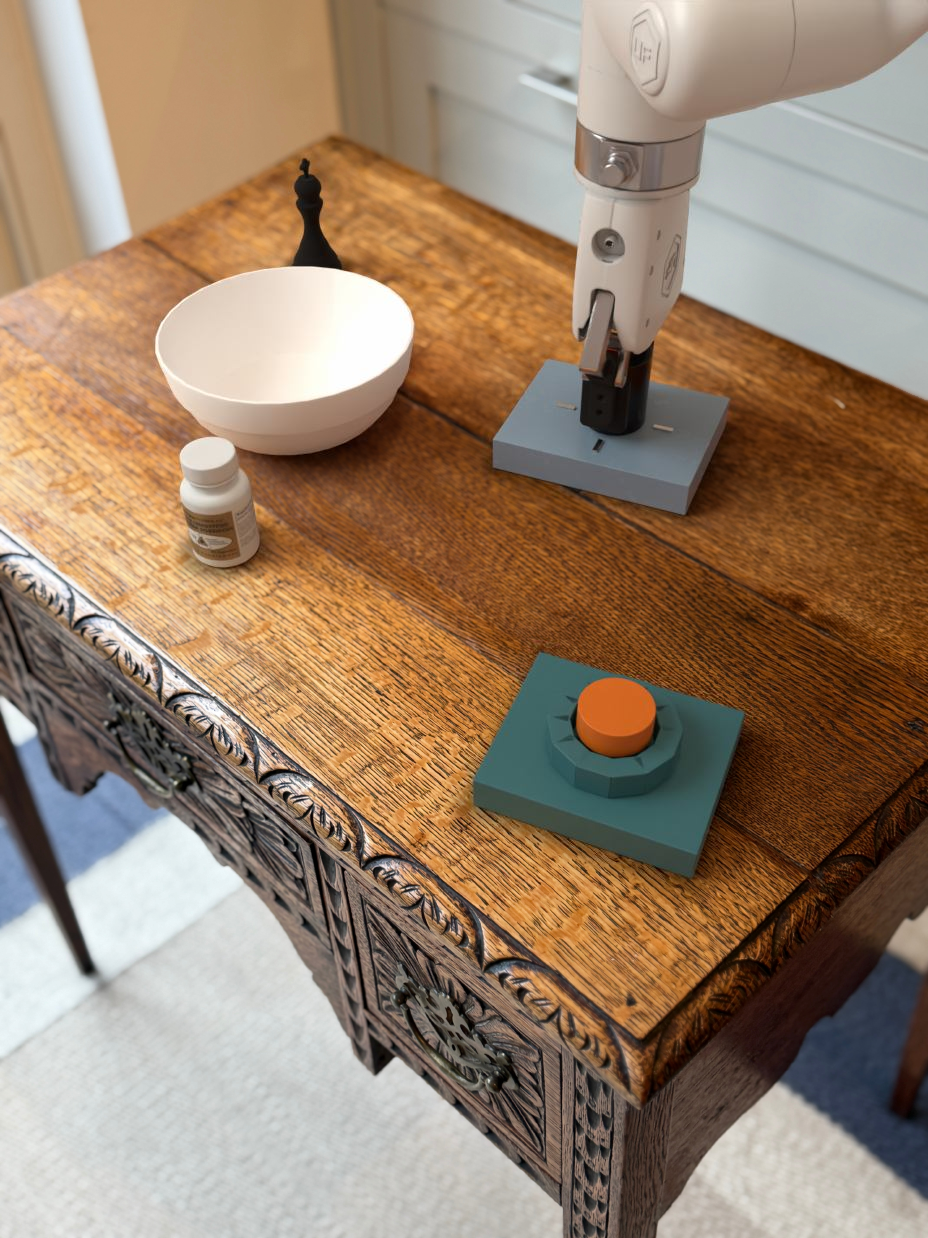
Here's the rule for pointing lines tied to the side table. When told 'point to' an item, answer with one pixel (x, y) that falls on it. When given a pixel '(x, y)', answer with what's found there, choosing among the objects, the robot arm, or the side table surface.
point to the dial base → (612, 441)
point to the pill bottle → (217, 503)
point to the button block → (610, 769)
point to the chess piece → (312, 224)
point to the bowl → (287, 356)
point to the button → (615, 717)
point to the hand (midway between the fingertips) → (614, 404)
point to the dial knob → (634, 388)
